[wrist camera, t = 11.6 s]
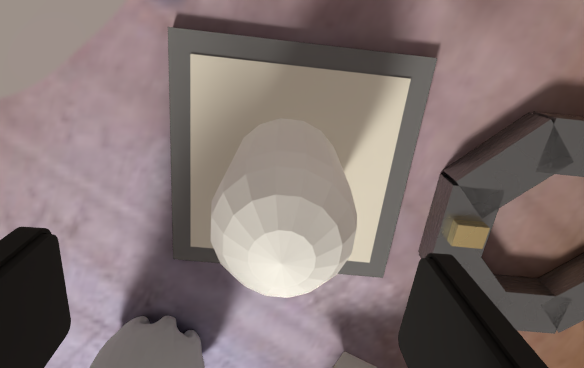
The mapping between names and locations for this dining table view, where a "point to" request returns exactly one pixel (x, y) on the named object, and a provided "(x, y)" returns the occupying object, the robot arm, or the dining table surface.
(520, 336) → the robot arm
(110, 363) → the bottle
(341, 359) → the toilet tissue
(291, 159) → the capsule
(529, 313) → the socket ring
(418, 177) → the dining table surface
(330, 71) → the mat
